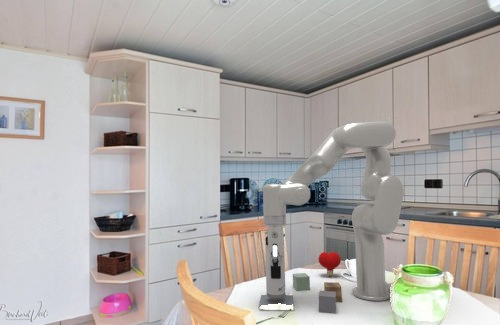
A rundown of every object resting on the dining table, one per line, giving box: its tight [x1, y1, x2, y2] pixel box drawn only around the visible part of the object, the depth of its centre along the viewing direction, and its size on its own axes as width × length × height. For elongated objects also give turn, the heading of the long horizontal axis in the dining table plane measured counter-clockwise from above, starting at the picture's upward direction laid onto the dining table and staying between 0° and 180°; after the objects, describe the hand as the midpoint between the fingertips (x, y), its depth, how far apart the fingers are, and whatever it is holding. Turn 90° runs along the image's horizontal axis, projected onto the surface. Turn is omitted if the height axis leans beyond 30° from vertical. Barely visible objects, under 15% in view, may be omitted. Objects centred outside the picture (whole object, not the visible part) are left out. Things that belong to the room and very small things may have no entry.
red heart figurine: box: [318, 251, 342, 277], centre depth 135 cm, size 9×7×10 cm
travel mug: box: [264, 233, 286, 298], centre depth 106 cm, size 6×7×20 cm
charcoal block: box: [318, 290, 337, 315], centre depth 100 cm, size 5×5×5 cm
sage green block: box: [292, 272, 311, 292], centre depth 120 cm, size 5×5×5 cm
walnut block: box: [323, 281, 343, 303], centre depth 108 cm, size 5×5×5 cm
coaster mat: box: [258, 294, 295, 307], centre depth 105 cm, size 11×11×1 cm
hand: (276, 274), depth 106 cm, fingers closed on travel mug, 6 cm apart
